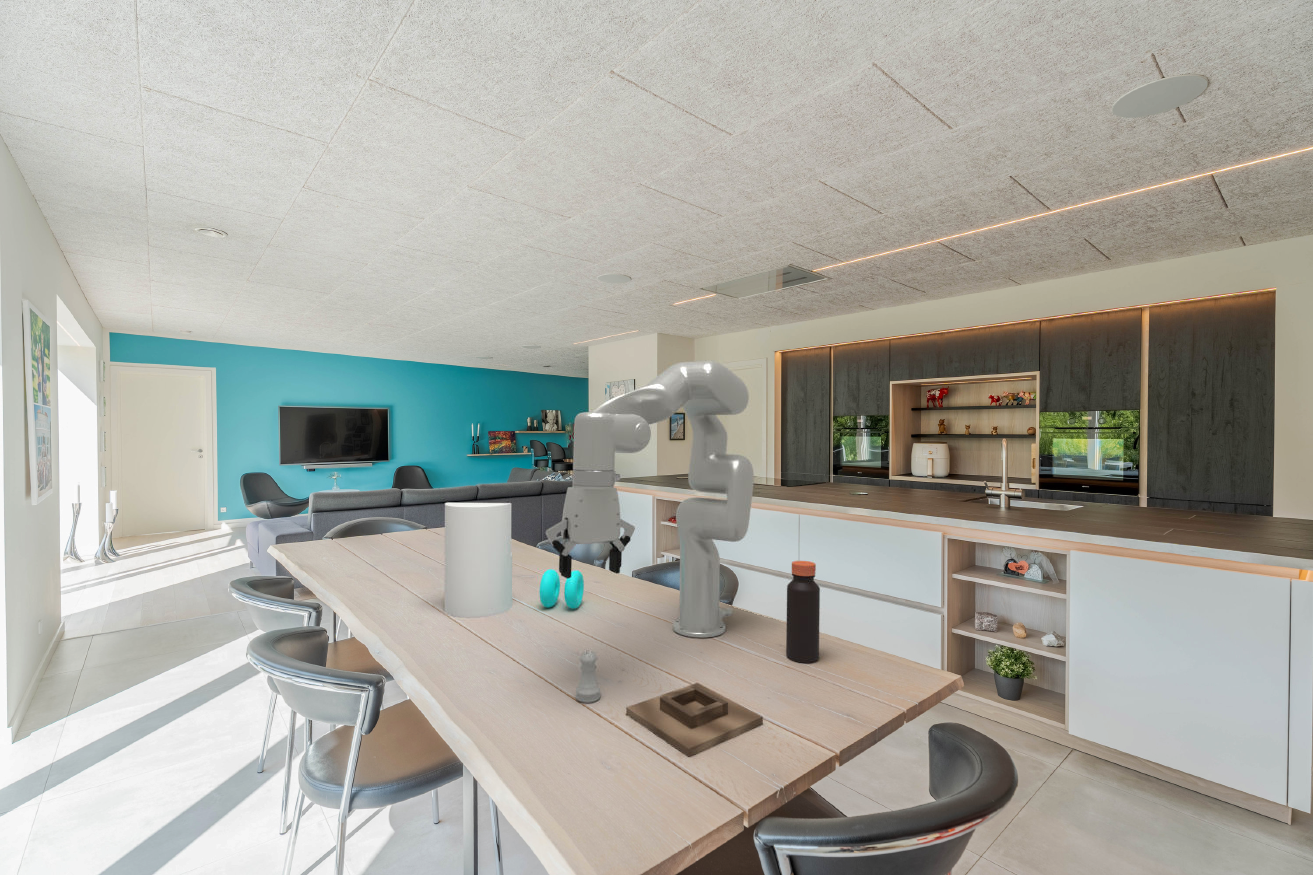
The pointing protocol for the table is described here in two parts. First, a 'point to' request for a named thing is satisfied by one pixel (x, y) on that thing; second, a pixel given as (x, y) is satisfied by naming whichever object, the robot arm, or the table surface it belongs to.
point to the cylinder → (478, 559)
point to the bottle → (803, 614)
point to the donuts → (552, 589)
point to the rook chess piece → (588, 679)
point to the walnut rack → (694, 718)
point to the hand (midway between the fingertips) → (590, 574)
